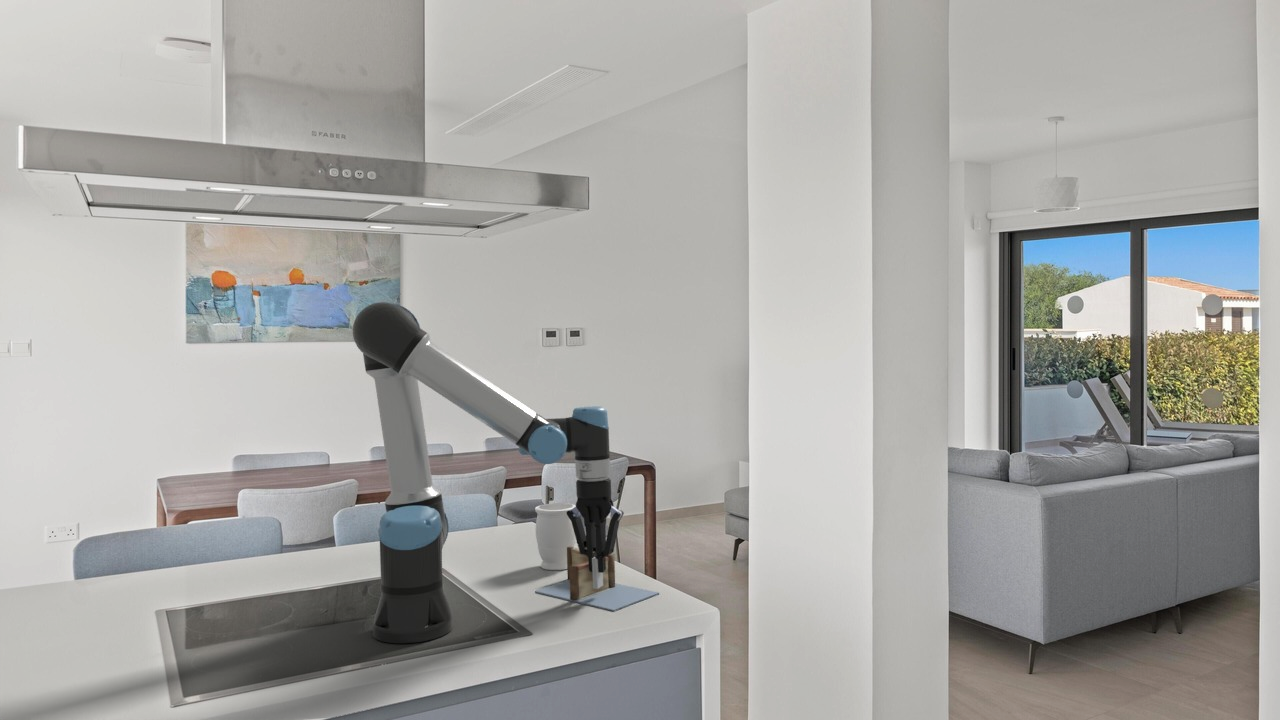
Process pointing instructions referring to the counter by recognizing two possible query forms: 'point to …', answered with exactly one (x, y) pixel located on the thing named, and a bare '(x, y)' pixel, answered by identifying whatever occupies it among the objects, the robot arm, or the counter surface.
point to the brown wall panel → (577, 558)
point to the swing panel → (584, 580)
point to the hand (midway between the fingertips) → (598, 586)
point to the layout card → (601, 595)
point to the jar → (554, 534)
